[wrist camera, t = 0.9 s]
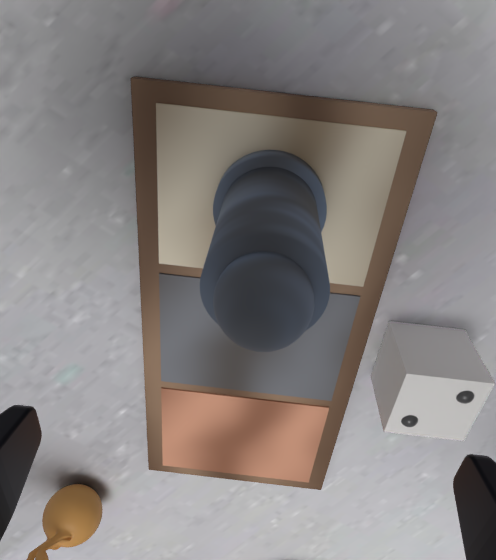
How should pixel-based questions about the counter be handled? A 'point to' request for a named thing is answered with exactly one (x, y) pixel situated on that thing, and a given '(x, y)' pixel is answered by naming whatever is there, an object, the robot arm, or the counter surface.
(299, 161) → the pawn
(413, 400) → the white die
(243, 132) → the game board
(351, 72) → the counter surface
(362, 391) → the counter surface
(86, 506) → the figurine
